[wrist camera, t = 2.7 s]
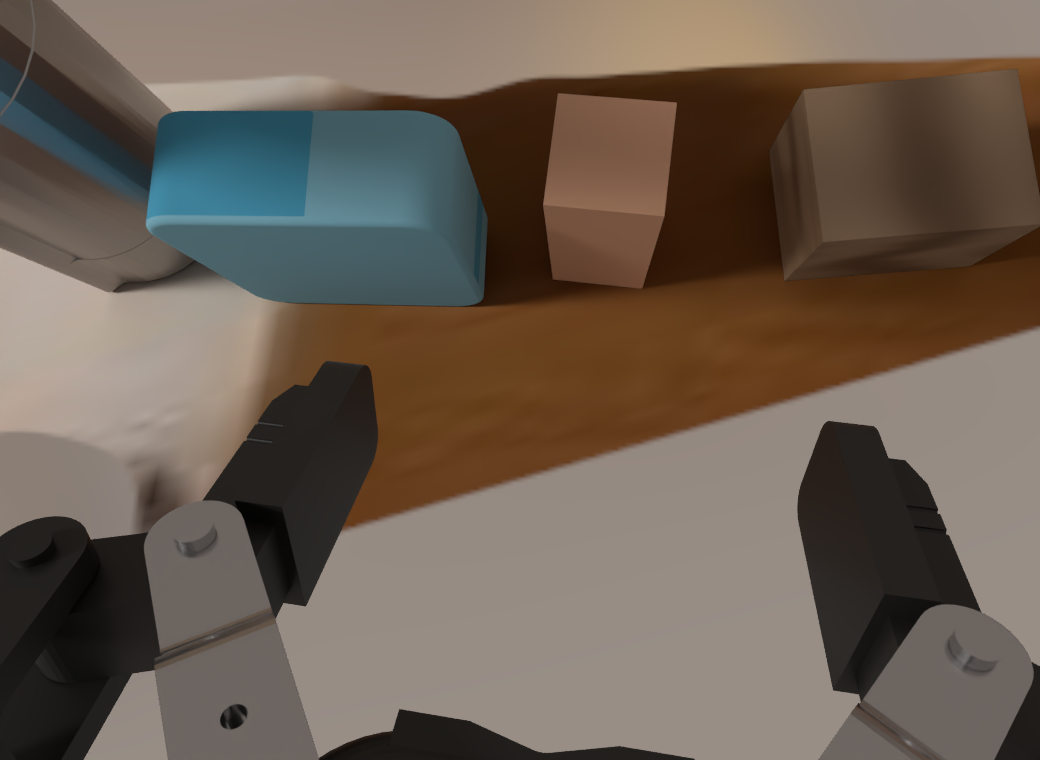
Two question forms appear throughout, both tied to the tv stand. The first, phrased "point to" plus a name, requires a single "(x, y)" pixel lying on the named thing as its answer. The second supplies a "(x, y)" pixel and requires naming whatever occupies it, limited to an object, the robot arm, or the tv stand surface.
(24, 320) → the tv stand surface
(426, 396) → the tv stand surface
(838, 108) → the grey brown block
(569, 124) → the terracotta block
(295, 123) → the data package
